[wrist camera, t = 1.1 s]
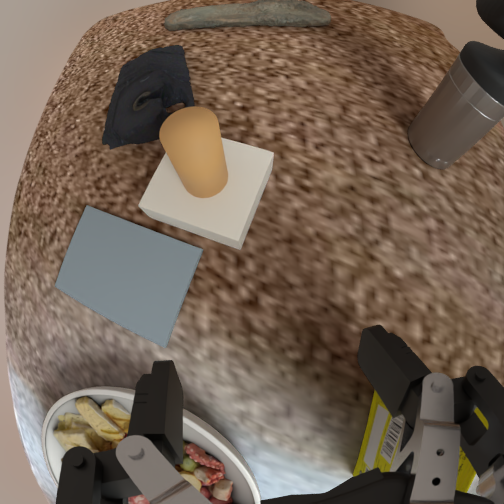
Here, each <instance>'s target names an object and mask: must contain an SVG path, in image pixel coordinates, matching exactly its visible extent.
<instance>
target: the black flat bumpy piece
mask: <svg viewBox="0 0 504 504" xmlns="http://www.w3.org/2000/svg"><path fill="white" fill-rule="evenodd" d="M186 66H187V65H186V61H185V57H184V50H183V48H182V46H180V45H174V46H168V47H164V48H162V47H161V48H157V49H152V50H149V51H148V52H146V53H144V54H142V55H140V56H139V57H138V58H136V59H134V60H132V61H129V62H128V63H127V64H125V65H123V67H122V68H121V71H120V74H119V76H118V82H117V83H116V86H115V90H114V93H113V95H112V99H111V103H110V105H109V110H108V114H107V119H106V123H105V130H104V134H103V138H102V143H103V144H105V145H106V144H108V145H110V149H113V148H116V147H119V146H123V145H126V144H130V143H131V144H142V143H147V142H150V141H154V140H157V139H160V138H159V132H160V128H161V126H162V124H163V122H164V121H165V120H166V119H167V118H168V117H169V116H170V115H171V114H173V113H167V112H166V109H165V108H167V107H170V106H172V105H175V104H177V103H181V102H183V103H184V104H186V106H185V108H186V107H194V97H193V93H192V88H191V86H190V82H189V80H190V77H189V70H188V68H187V67H186Z"/></svg>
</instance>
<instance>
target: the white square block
mask: <svg viewBox="0 0 504 504" xmlns="http://www.w3.org/2000/svg"><path fill="white" fill-rule="evenodd" d="M221 139H222V144H223V149H224V155H225V160H226V165H227V171H228V181H227V184H226V186H225V187H224V189H223V190H222V191H221V192H219V193H218V194H216V195H215V196H212V197H209V198H198V197H195V196H193V195H191V194H190V193H188V191H187V190H186V189H185V187H184V185H183V183H182V181H181V179H180V178H179V176H178V174H177V172H176V170H175V168H174V166H173V164H172V163H171V161H170V159H169V157H168V155H167V153H165V155H164V157H163V159H162V160H161V162H160V164H159V166H158V168H157V170H156V172H155V173H154V175H153V177H152V179H151V181H150V183H149V185H148V187H147V189H146V191H145V193H144V195H143V197H142V199H141V201H140V203H139V205H138V206H139V207H140V208H141V209H142V210H143V211H144V212H145V213H146V214H147V215H148V216H149V217H150V218H153V219H156V220H158V221H161V222H164V223H167V224H169V225H172V226H175V227H178V228H180V229H183V230H186V231H189V232H192V233H194V234H197V235H200V236H203V237H205V238H208V239H211V240H214V241H217V242H219V243H222V244H225V245H228V246H230V247H233V248H236V249H239V250H241V248H242V245H243V242H244V240H245V237H246V235H247V232H248V230H249V227H250V224H251V222H252V219H253V217H254V214H255V212H256V209H257V207H258V204H259V201H260V199H261V196H262V194H263V191H264V189H265V186H266V184H267V181H268V179H269V176H270V174H271V171H272V166H273V157H274V153H273V152H270V151H267V150H264V149H260V148H257V147H253V146H250V145H247V144H243V143H239V142H236V141H232V140H228V139H225V138H221Z"/></svg>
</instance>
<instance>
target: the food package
mask: <svg viewBox="0 0 504 504" xmlns="http://www.w3.org/2000/svg"><path fill="white" fill-rule="evenodd" d="M474 412H475V413H476V415H477V416H478V417H479V419H480V420H481V421H482V423H483V424H484V426H485V427H486V428H487V430H488V421H487V420H486V418H485V417H484V416H483V414H482V413H481V412H480V410H479V409H478V408H476V409H475V410H474ZM403 420H404V416H403V415H400V416H398V417H395V418H393V417H392V416H391V414H390V412H389V411H388V409H387V408H386V406H385V405H384V403H383V402H382V400H381V398H380V397H379V395H378V394H377V392H376V391H374V395H373V400H372V404H371V409H370V414H369V418H368V422H367V426H366V430H365V434H364V438H363V442H362V445H361V449H360V453H359V456H358V460H357V463H356V466H355V469H354V472H353V476H357V475H360V474H362V473H365V472H367V471H370V470H372V469H375V468H377V467H379V469H380V471H381V472H389V471H390V468H391V466H392V464H393V462H394V459H395V457H396V453H397V449H398V444H399V439H400V434H401V429H402V423H403ZM475 475H476V472H475V470H474V468H473V467H472V465H471V463H470V461H469V460H468V458H467V456H466V455H465V453H464V452H463V450H462V448H461V447H460V453H459V465H458V475H457V483H456V490H458V491H462V492H465V493H467V491H468V489H469V487H470V485H471V483H472V481H473V479H474V477H475Z"/></svg>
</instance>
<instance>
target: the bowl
mask: <svg viewBox="0 0 504 504" xmlns="http://www.w3.org/2000/svg"><path fill="white" fill-rule="evenodd" d="M134 396H135V390H133V389H128V388H122V387H109V386H101V387H90V388H85V389H81V390H78V391H75V392H72V393H70V394H67V395H65V396H64V397H62V398H61V399H59V400H58V401H57V402H56V403H55V404H54V405H53V406H52V407H51V408H50V410H49V411H48V413H47V415H46V417H45V420H44V423H43V428H42V450H43V455H44V459H45V462H46V465H47V468H48V471H49V473H50V475H51V477H52V479H53V481H54V483H55V485H56V486H57V488H58V483H59V477H60V471H61V465H62V460H63V456H64V454H65V453H66V452H67V451H68V450H69V449H71V448H73V447H76V446H83V447H86V448H88V449H89V450H91V451H92V452H93V453H96V452H102V451H107V450H111V449H114V448H116V447H117V446H118V444H119V443H120V441H122V440H123V439H124V438H126V437H127V434H128V428H129V422H130V417H131V411H132V405H133V400H134ZM175 469H176V470H177V472H178V473H179V474H180V475H181V476H182V477H183V478H184V479H185V480H186V481H188V482H189V483H191V484H192V485H193V486H194V487H195V488H196V489H197V490H198V491H199V492H200V493H201V494H202V495H203V496H205V497H206V498H207V499H208V500H209V501H210V502H211V503H212V504H260V501H261V495H260V491H259V487H258V484H257V481H256V479H255V477H254V475H253V473H252V471H251V469H250V467H249V466H248V464H247V463H246V461H245V460H244V458H243V457H242V456H241V455H240V453H239V452H238V451H237V450H236V449H235V447H234V446H233V445H232V444H231V443H230V442H229V441H228V440H227V439H226V438H225V437H223V436H222V435H221V434H220V433H219V432H218V431H216V430H215V429H214V428H213V427H211V426H210V425H209V424H207V423H206V422H205V421H203V420H202V419H200V418H199V417H197V416H195V415H194V414H192V413H191V412H189V411H187V410H185V409H183V464H175ZM128 504H150V503H149V501H148V500H147V499H146V497H145V496H144V495H138V496H133V497H128Z"/></svg>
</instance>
